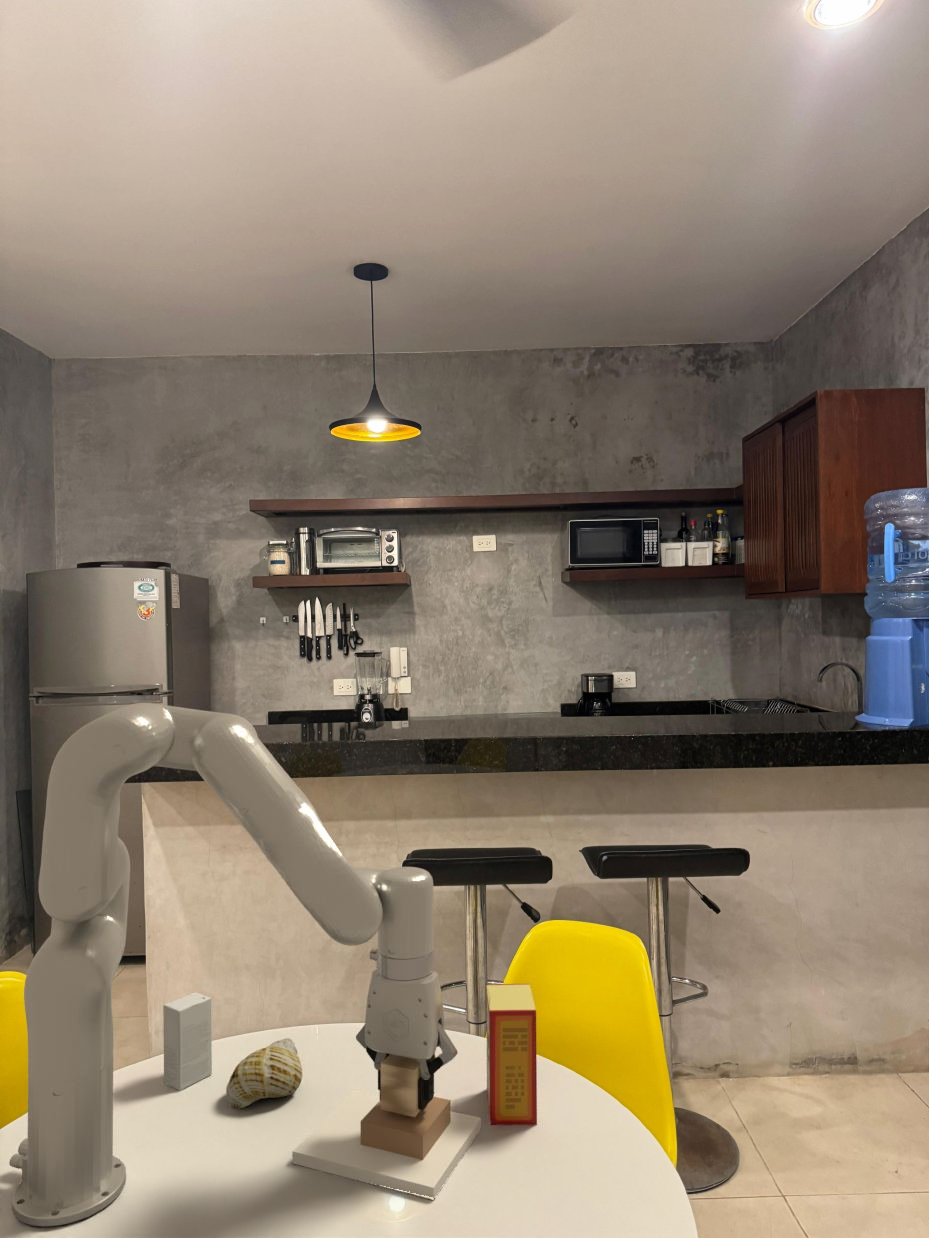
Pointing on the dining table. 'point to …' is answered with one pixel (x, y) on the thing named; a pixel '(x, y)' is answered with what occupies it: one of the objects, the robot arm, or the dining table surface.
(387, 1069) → the oak block
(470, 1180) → the dining table surface
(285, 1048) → the seashell
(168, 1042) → the skincare box
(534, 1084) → the baking soda box
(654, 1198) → the dining table surface
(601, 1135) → the dining table surface
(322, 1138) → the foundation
